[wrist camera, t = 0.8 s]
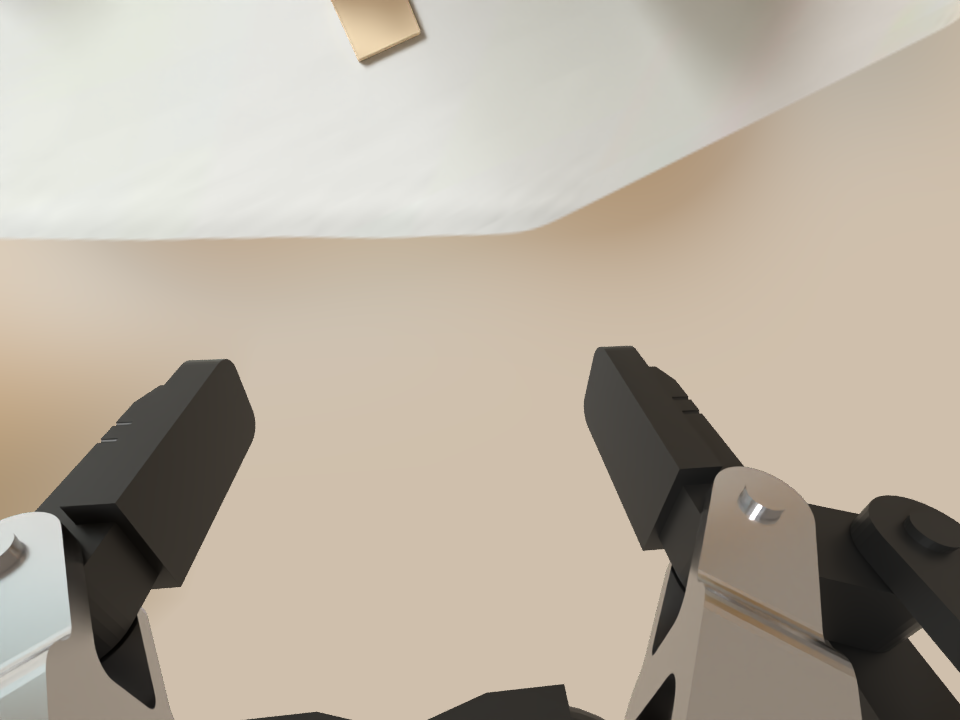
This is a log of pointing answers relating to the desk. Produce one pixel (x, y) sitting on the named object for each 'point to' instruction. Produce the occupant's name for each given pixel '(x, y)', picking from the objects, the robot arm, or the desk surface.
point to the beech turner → (376, 24)
